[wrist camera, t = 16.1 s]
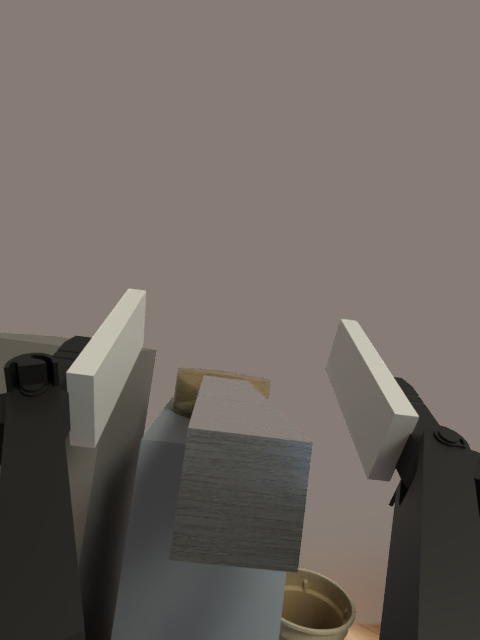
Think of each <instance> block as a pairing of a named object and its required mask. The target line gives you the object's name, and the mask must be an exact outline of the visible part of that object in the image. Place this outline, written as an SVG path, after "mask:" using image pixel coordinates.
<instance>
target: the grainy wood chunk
mask: <svg viewBox="0 0 480 640" xmlns="http://www.w3.org/2000/svg"><path fill="white" fill-rule="evenodd" d="M269 388H270V380H267V379H264V378H260V377H255V376H249V375H244V374H237V373H230V372H223V371H215V370H205V369H194V368H179V369H178V373H177V380H176V387H175V394H174V401H173V407H172V411H173V412H174V413H176V414H178V415H181V416H183V417H186V418H190V423H189V426H188V431H187V438H186V445H185V452H184V459H183V466H182V473H181V481H180V488H179V495H178V502H177V509H176V516H175V523H174V530H173V537H172V544H171V551H170V558H169V560H171V561H181V562H192V563H202V564H212V565H223V566H233V567H243V568H254V569H264V570H274V571H284V572H295V573H298V564H299V556H300V547H301V539H302V529H303V520H304V512H305V503H306V495H307V486H308V477H309V469H310V460H311V452H312V442H311V441H310V440H309V439H308V438H307V437H306V436H305V435H304V434H303V433H302V432H301V431H300V430H299V429H298V428H296V426H295V425H294V424H292V422H290V421H289V420H288V419H287V418H286V417H285V416H284V415H283V414H282V413H281V412H280V411H279V410H278V409H277V408H276V407H275V406H274V405H273V404H272V403H271V402H270V401H269V400H268V397H269Z"/></svg>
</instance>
